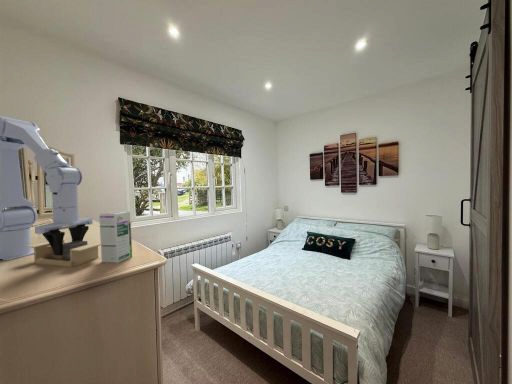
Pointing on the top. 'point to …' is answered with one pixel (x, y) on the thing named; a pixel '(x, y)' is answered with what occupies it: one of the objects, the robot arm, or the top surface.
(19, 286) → the top surface
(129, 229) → the syrup box
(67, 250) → the box
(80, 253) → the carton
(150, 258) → the top surface
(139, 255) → the top surface
